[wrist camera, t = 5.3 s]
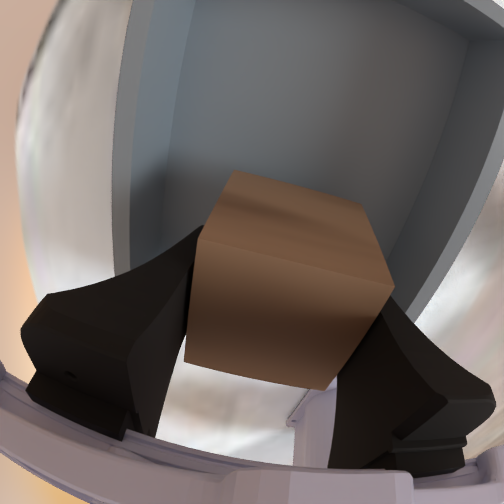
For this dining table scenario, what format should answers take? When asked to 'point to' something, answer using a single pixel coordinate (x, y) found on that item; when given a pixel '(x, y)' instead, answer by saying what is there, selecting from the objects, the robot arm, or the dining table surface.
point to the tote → (312, 119)
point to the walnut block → (283, 283)
